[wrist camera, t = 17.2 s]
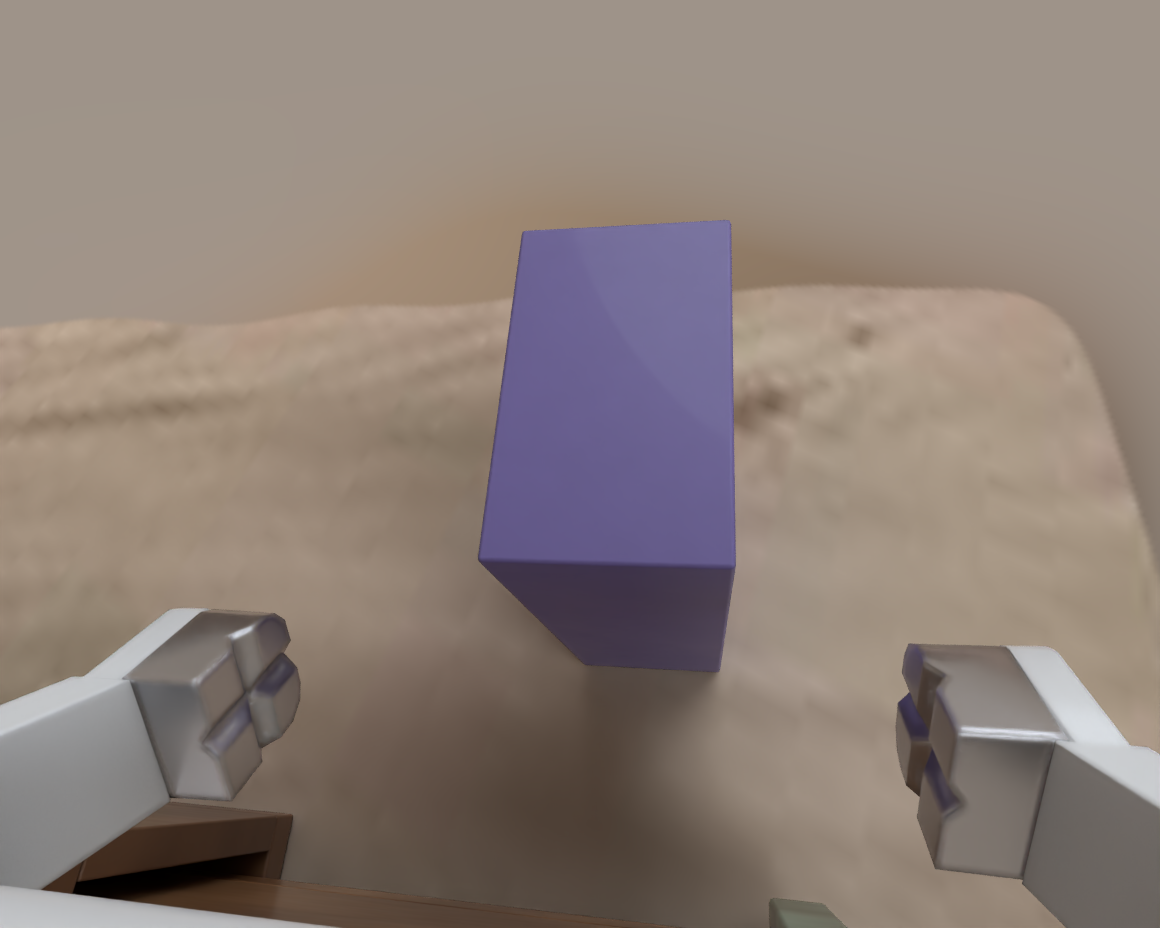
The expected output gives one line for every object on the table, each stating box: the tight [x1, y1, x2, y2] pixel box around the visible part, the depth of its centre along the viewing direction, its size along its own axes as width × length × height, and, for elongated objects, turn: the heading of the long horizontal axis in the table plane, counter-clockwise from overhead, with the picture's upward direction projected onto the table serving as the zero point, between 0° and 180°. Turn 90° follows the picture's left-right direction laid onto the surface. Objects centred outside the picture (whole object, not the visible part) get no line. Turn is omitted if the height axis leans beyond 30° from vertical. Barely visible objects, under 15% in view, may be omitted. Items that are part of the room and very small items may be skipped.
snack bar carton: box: [478, 220, 736, 672], centre depth 15 cm, size 4×6×10 cm, turn 176°
